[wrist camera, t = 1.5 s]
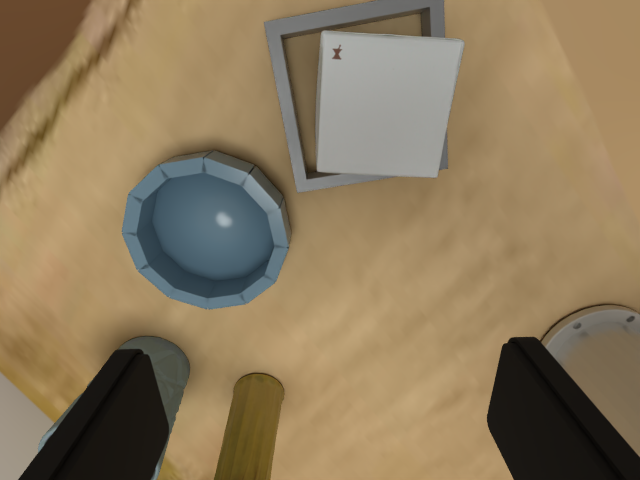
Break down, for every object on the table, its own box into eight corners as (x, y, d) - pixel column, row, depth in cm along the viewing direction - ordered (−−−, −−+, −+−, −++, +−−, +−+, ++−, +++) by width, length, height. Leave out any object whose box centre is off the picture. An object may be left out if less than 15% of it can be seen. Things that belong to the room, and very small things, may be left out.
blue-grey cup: (106, 326, 40) (25, 418, 29) (198, 334, 41) (153, 427, 30) (116, 394, 44) (49, 497, 33) (200, 400, 45) (161, 504, 34)
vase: (223, 389, 44) (182, 520, 31) (259, 364, 42) (233, 490, 29) (258, 417, 46) (234, 551, 33) (294, 393, 44) (284, 524, 31)
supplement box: (313, 141, 32) (310, 173, 21) (319, 47, 29) (319, 24, 18) (395, 146, 32) (439, 182, 21) (409, 53, 29) (468, 35, 18)
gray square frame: (433, -5, 28) (443, -13, 26) (438, 162, 33) (447, 168, 31) (268, 26, 29) (263, 22, 26) (298, 185, 34) (297, 192, 31)
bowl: (272, 139, 32) (266, 146, 28) (301, 275, 38) (299, 296, 34) (122, 164, 33) (97, 175, 29) (172, 294, 38) (156, 317, 35)
